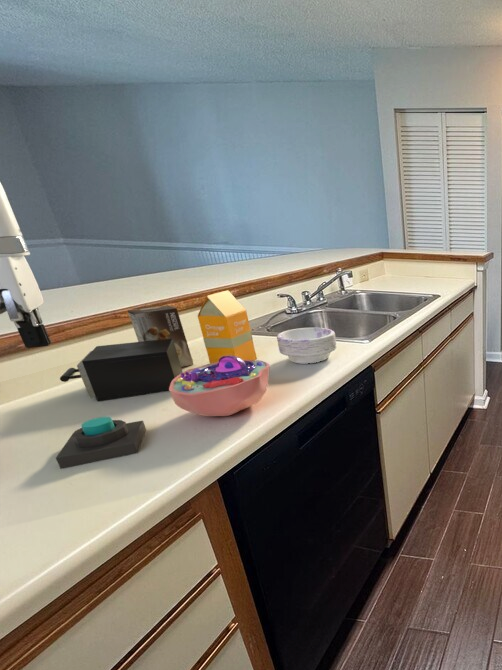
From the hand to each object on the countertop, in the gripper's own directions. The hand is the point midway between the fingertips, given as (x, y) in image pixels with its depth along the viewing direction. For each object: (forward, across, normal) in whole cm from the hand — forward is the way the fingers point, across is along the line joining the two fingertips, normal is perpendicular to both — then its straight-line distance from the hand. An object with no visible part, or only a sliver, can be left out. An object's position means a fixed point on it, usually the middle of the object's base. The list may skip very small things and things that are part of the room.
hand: (39, 345), depth 82 cm
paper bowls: (+16, -14, +49) cm, 53 cm away
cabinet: (+15, -12, +11) cm, 23 cm away
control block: (+15, +21, +9) cm, 27 cm away
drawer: (+14, -12, +7) cm, 20 cm away
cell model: (+16, +13, +28) cm, 35 cm away
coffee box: (+16, -26, +15) cm, 34 cm away
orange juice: (+16, -21, +30) cm, 40 cm away
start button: (+12, +21, +9) cm, 25 cm away
